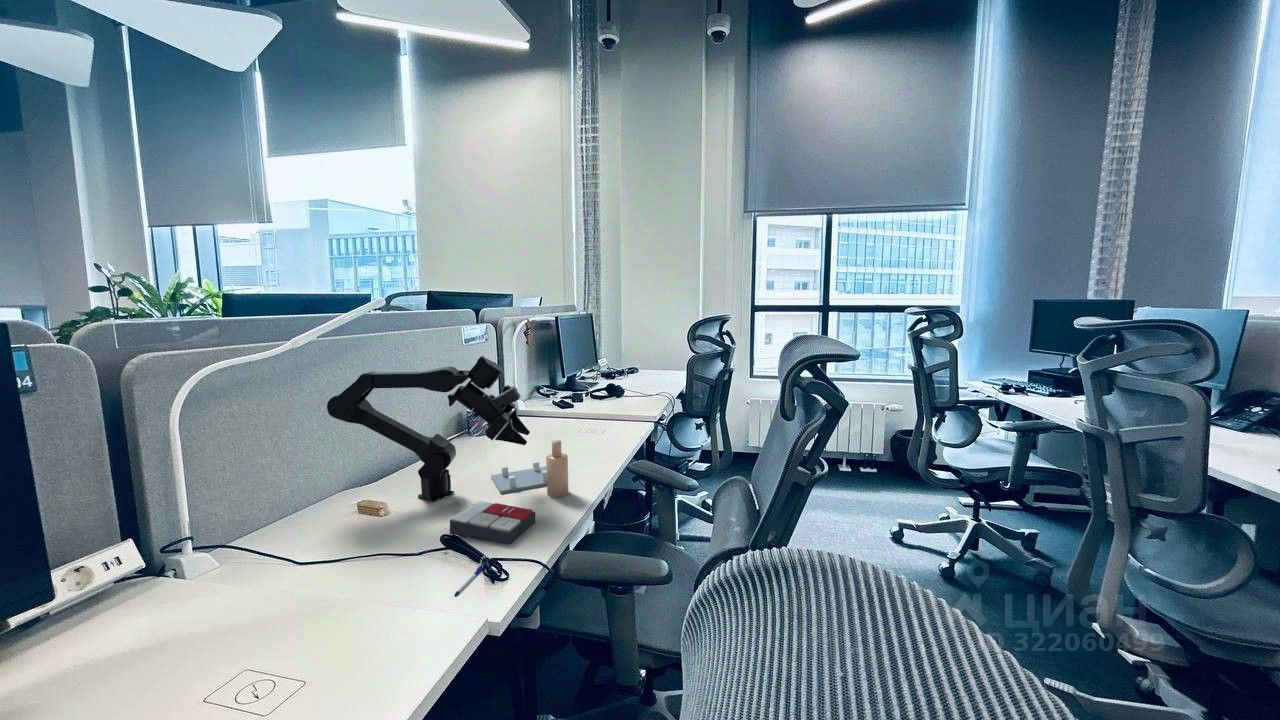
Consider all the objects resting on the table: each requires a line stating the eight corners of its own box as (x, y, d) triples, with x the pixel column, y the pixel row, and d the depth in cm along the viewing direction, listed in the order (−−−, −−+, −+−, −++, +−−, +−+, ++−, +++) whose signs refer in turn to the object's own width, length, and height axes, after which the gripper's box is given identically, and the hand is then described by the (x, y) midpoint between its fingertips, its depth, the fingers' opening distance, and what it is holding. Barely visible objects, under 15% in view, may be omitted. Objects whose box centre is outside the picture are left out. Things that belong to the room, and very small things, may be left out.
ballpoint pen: (483, 565, 96) (483, 560, 95) (487, 565, 95) (487, 560, 95) (453, 597, 85) (453, 591, 85) (458, 597, 85) (458, 592, 85)
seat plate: (500, 493, 129) (500, 481, 129) (491, 478, 141) (490, 466, 140) (559, 483, 137) (559, 471, 136) (546, 468, 148) (545, 458, 148)
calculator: (509, 530, 102) (448, 517, 107) (509, 549, 103) (448, 536, 107) (536, 508, 113) (479, 497, 117) (536, 526, 113) (479, 515, 118)
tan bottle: (559, 499, 126) (558, 445, 124) (542, 495, 128) (541, 442, 127) (572, 491, 130) (571, 440, 129) (556, 488, 133) (554, 437, 131)
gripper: (493, 384, 118) (545, 423, 121) (503, 372, 136) (548, 407, 139) (463, 420, 118) (516, 459, 121) (477, 404, 136) (523, 437, 139)
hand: (527, 438), depth 130 cm, fingers open, 9 cm apart
